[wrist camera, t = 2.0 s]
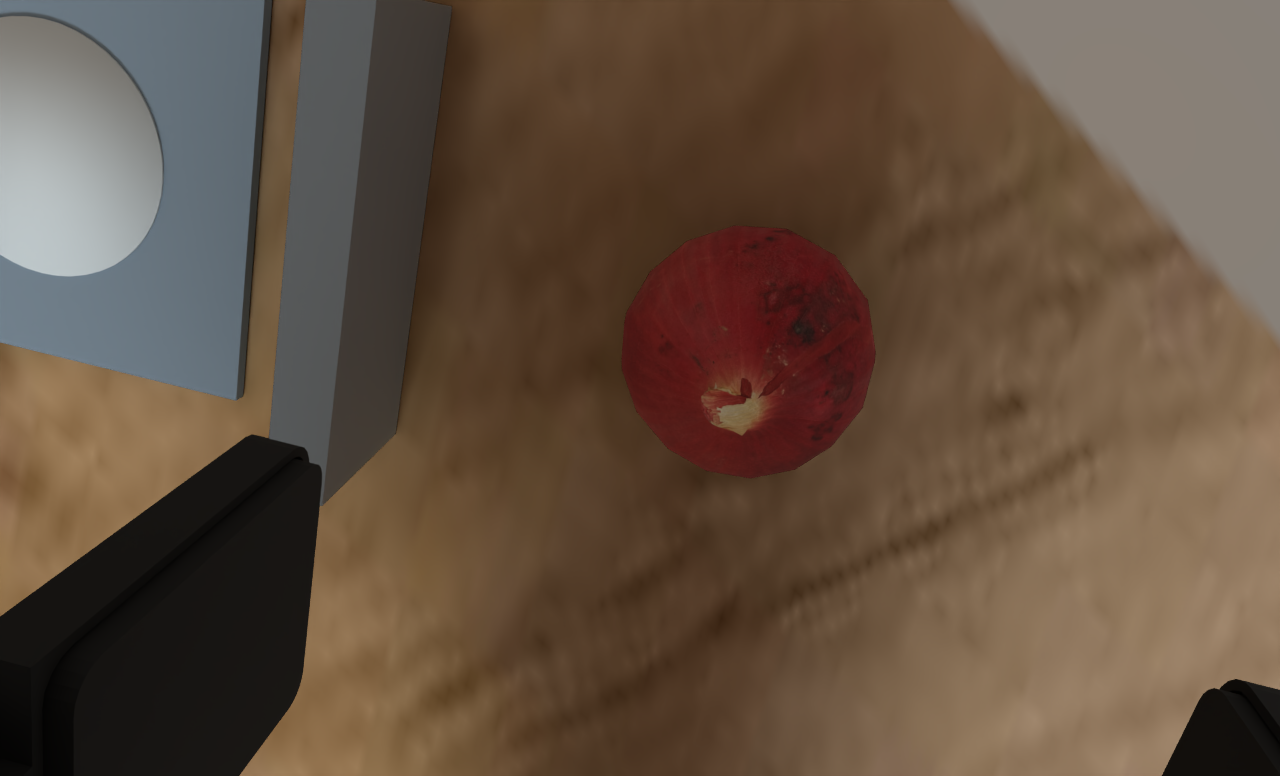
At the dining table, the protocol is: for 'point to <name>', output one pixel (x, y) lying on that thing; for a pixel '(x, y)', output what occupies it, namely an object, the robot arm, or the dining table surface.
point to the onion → (748, 351)
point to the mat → (132, 183)
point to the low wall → (355, 225)
